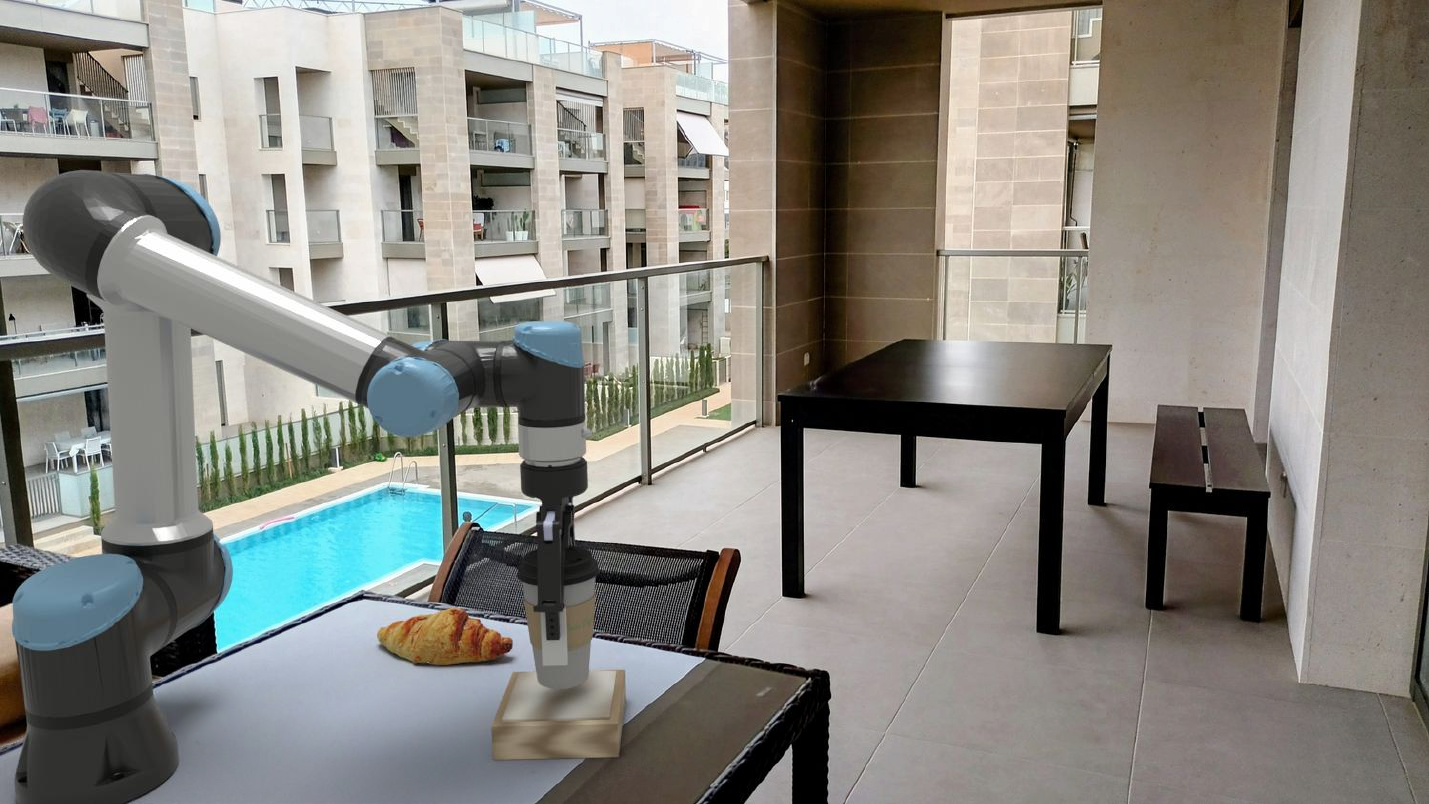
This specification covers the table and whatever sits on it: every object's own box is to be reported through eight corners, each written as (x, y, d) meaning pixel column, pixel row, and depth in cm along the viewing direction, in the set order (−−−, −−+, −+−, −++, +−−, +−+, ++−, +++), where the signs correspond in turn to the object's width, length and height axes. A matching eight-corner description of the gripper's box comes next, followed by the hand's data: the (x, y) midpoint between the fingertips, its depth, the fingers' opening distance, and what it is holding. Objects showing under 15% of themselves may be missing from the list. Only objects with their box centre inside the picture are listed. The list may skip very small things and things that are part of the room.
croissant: (369, 677, 142) (348, 640, 137) (401, 621, 150) (382, 584, 145) (506, 690, 136) (490, 652, 132) (532, 632, 144) (517, 594, 139)
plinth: (493, 759, 113) (491, 724, 112) (513, 701, 126) (512, 669, 126) (618, 757, 113) (617, 721, 112) (625, 699, 127) (625, 667, 126)
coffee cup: (587, 699, 113) (583, 571, 111) (508, 692, 115) (502, 566, 112) (612, 664, 122) (609, 545, 120) (539, 658, 124) (534, 541, 122)
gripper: (576, 482, 103) (583, 687, 107) (595, 438, 125) (600, 609, 129) (502, 483, 103) (512, 688, 107) (534, 439, 125) (541, 610, 129)
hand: (560, 645), depth 118 cm, fingers closed on coffee cup, 9 cm apart
